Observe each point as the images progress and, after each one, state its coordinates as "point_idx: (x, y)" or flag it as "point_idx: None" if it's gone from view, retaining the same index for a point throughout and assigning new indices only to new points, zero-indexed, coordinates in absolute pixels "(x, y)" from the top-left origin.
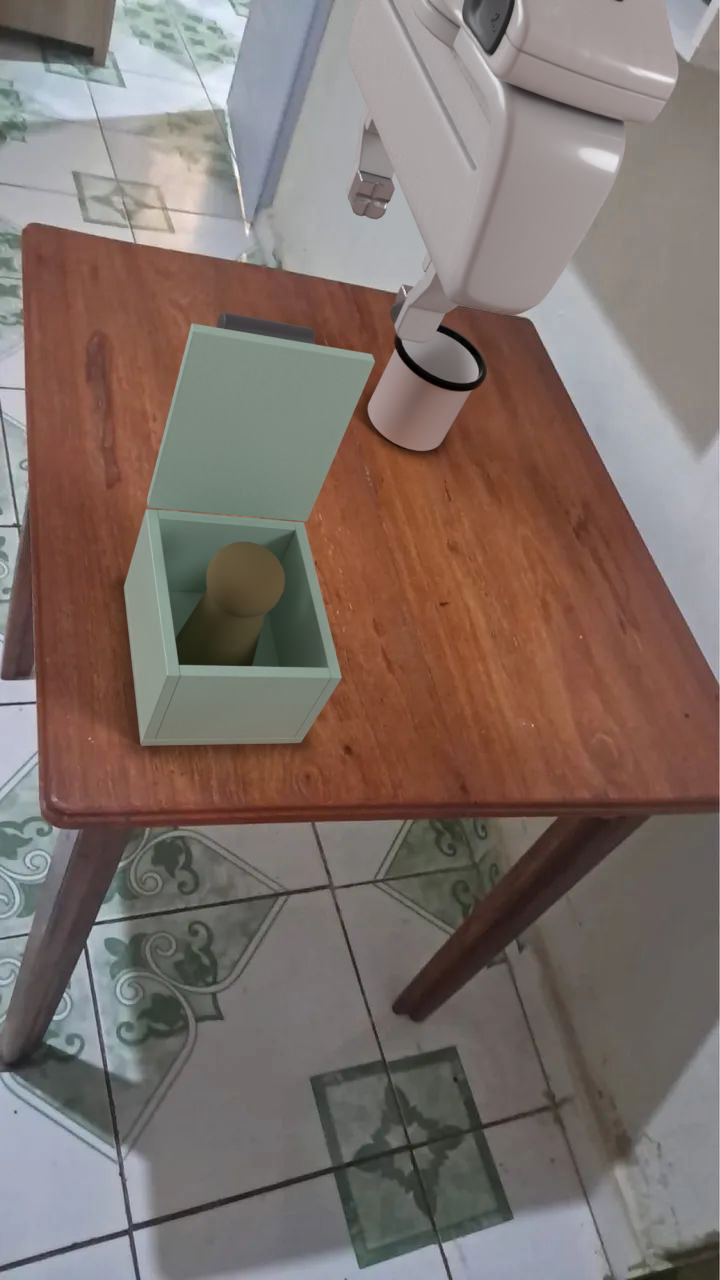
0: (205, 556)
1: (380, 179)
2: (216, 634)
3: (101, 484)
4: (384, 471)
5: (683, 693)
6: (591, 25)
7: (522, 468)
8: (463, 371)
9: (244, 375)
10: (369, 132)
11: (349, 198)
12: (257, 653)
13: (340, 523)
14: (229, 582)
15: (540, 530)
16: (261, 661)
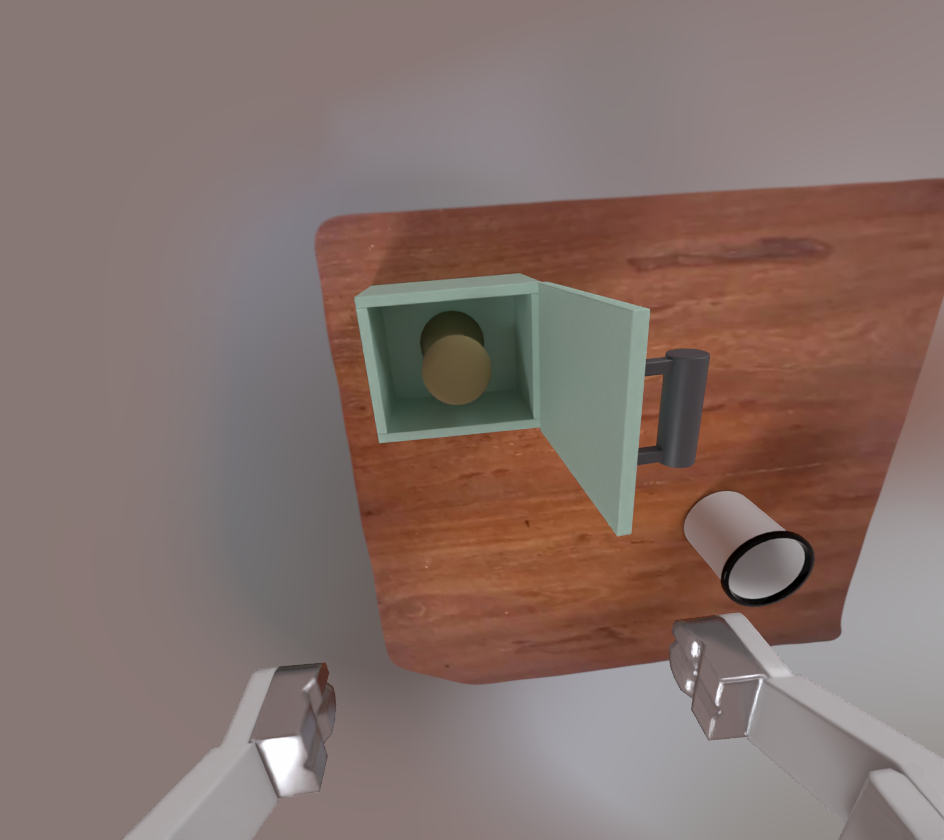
0: (523, 339)
1: (737, 717)
2: (430, 344)
3: (632, 253)
4: (660, 496)
5: (465, 668)
6: None
7: (669, 602)
8: (756, 582)
9: (603, 378)
10: (872, 765)
11: (713, 621)
12: None
13: None
14: (436, 354)
15: (605, 604)
16: None
